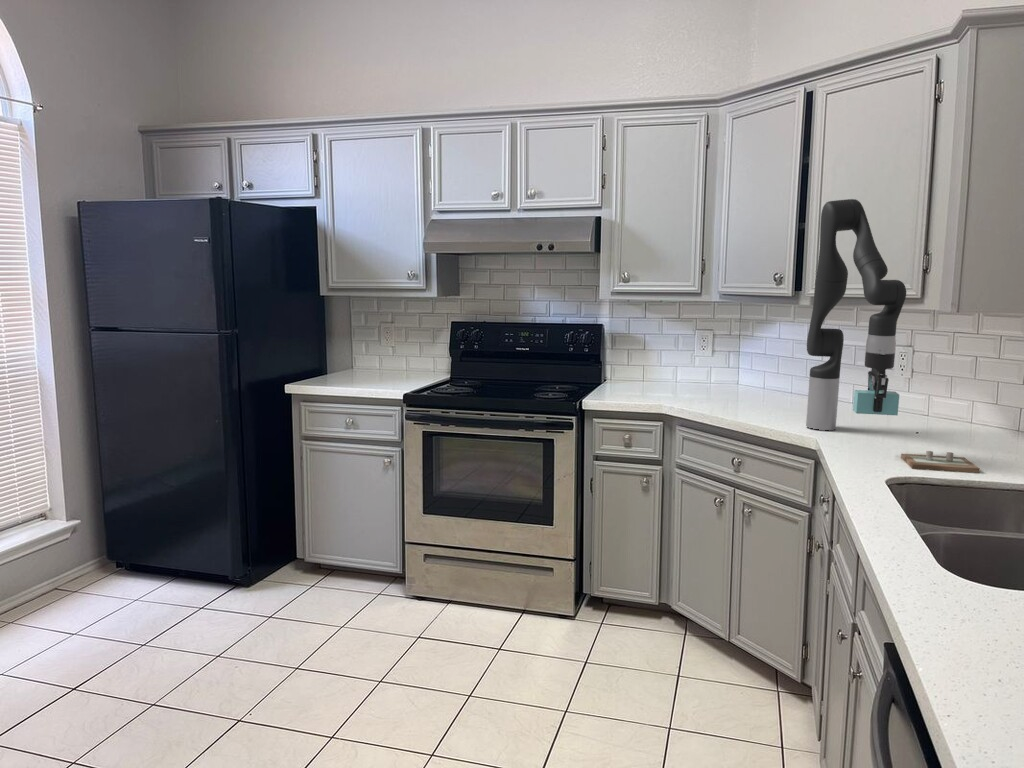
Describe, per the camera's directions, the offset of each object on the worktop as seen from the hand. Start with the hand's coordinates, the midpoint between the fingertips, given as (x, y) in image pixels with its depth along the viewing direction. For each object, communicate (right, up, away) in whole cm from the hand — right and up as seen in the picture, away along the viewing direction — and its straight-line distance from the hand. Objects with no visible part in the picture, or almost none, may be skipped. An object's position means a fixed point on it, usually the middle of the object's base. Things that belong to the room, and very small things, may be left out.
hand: (875, 409), depth 217 cm
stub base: (+12, -15, -11) cm, 22 cm away
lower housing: (0, -1, 0) cm, 1 cm away
